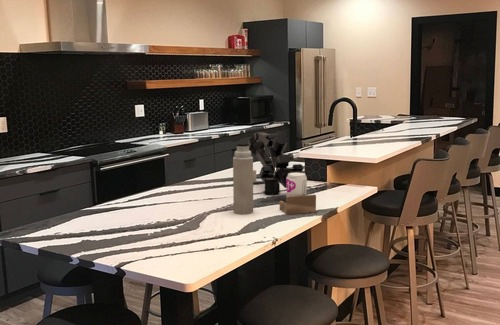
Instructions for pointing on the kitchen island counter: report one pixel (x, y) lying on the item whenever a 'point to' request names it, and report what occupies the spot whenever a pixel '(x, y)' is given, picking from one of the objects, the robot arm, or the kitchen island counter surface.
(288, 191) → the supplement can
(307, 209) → the walnut dock
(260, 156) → the robot arm
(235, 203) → the thermos bottle
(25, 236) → the kitchen island counter surface
